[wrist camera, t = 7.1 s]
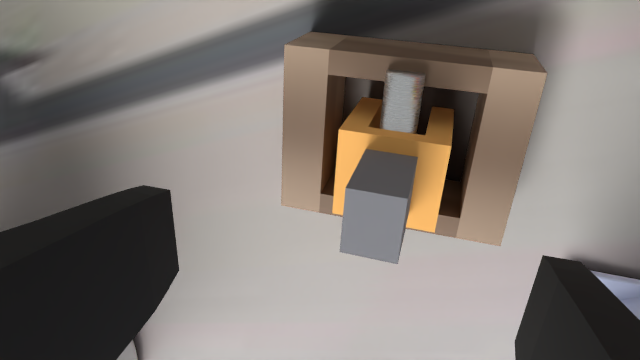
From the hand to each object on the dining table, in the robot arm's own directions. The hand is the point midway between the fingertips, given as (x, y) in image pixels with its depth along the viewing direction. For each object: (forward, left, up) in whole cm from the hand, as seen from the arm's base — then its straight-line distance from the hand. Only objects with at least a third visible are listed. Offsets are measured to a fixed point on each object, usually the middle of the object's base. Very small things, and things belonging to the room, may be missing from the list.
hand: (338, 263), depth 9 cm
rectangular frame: (0, 0, -10) cm, 10 cm away
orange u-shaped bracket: (-1, 0, -10) cm, 10 cm away
